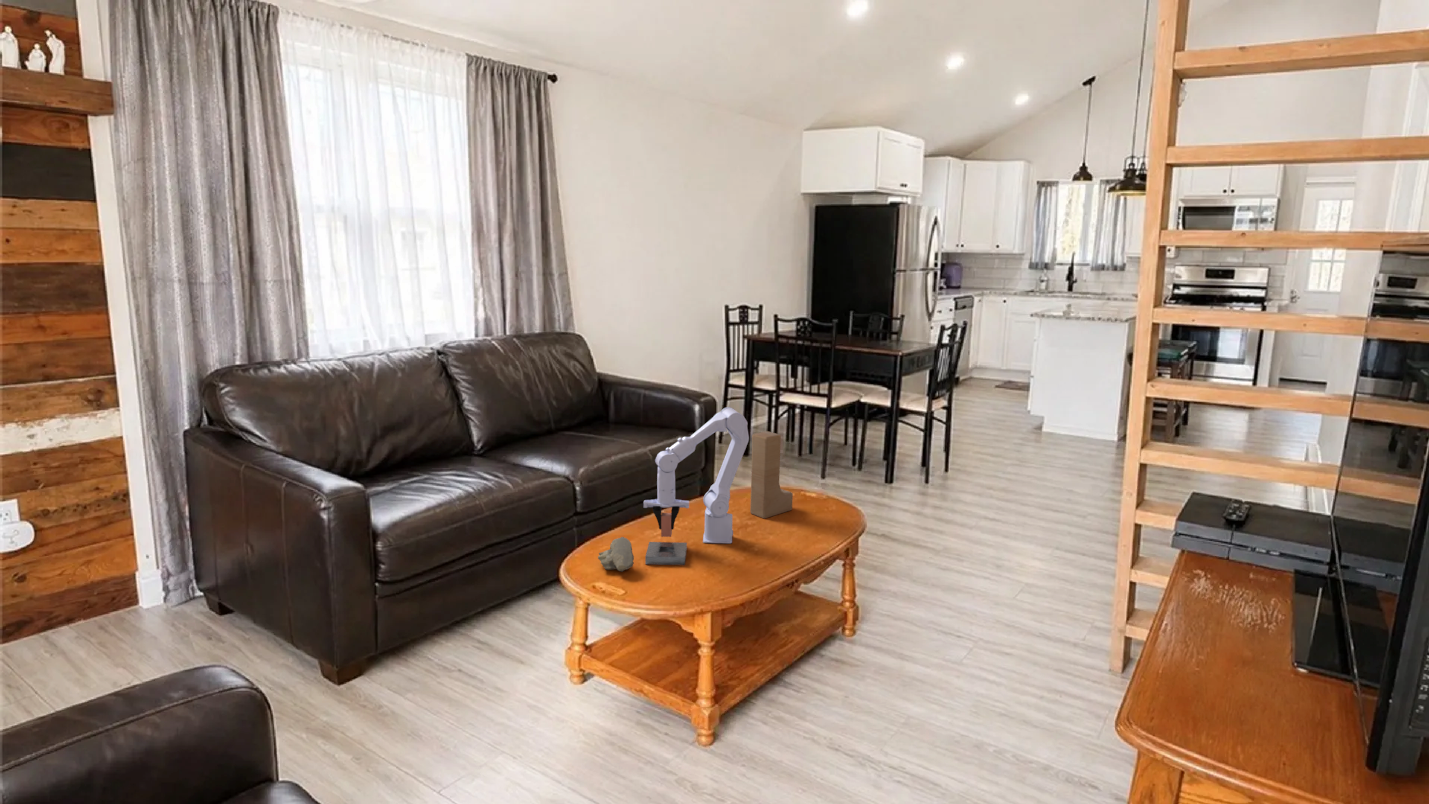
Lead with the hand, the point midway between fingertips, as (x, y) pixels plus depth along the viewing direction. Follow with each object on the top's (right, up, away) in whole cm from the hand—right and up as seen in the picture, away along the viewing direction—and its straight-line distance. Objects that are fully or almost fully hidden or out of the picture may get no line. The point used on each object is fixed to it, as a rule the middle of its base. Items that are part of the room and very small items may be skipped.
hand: (666, 528), depth 264 cm
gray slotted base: (+1, -7, -10) cm, 12 cm away
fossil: (-14, -9, -19) cm, 25 cm away
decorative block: (+36, +1, +33) cm, 49 cm away
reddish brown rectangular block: (0, -2, 0) cm, 2 cm away
